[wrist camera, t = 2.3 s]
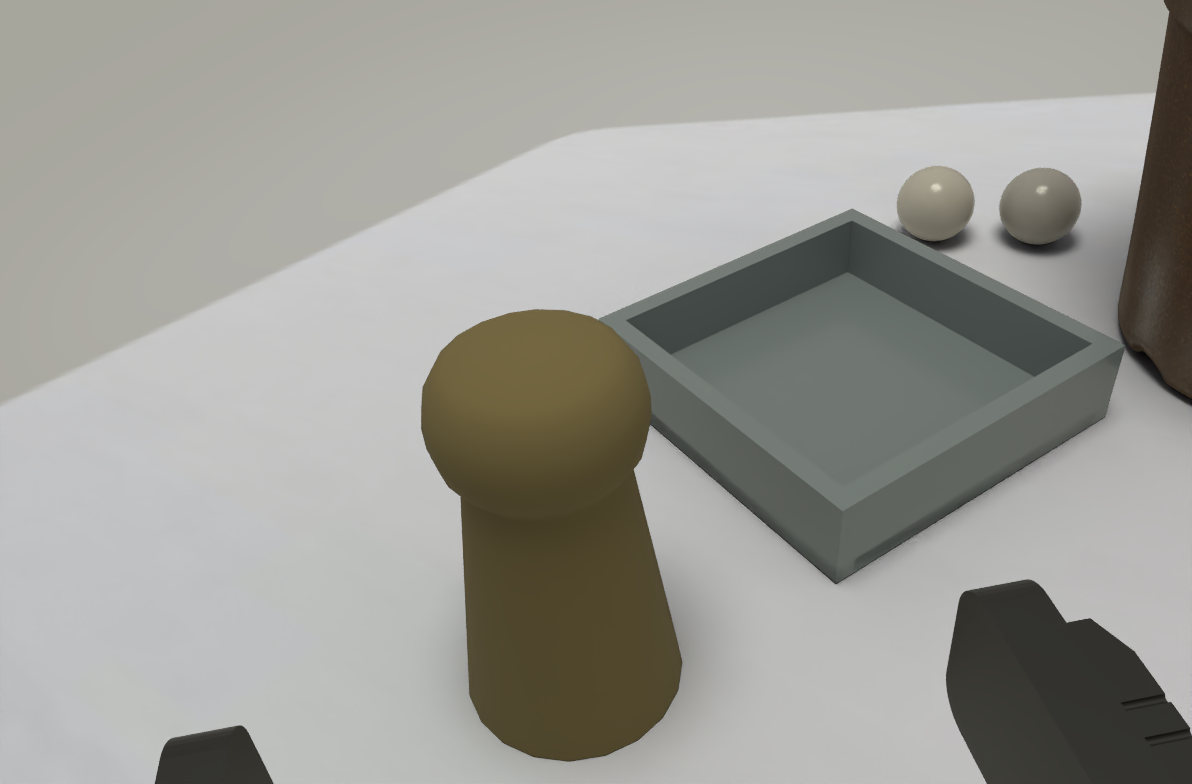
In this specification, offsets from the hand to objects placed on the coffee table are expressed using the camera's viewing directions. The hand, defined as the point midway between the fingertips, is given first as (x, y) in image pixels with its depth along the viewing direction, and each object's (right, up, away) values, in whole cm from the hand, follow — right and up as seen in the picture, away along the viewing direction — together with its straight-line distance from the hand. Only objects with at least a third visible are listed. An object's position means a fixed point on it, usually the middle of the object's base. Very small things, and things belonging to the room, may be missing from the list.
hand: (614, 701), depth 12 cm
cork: (-1, -4, +18) cm, 18 cm away
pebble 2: (+19, +10, +33) cm, 39 cm away
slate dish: (+9, +3, +26) cm, 27 cm away
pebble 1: (+15, +10, +34) cm, 39 cm away
